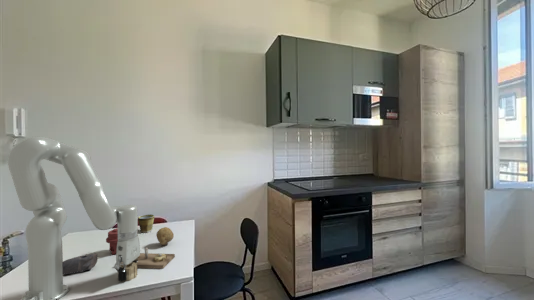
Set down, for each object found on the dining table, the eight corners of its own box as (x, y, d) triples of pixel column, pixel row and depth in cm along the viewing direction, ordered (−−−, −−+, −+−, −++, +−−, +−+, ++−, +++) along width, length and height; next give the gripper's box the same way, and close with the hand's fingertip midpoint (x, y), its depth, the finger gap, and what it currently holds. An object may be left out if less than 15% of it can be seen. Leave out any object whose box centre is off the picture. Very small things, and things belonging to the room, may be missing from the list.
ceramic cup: (157, 230, 164) (157, 215, 164) (143, 234, 155) (143, 219, 155) (146, 227, 170) (146, 213, 170) (132, 231, 162) (132, 216, 162)
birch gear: (130, 281, 101) (130, 269, 101) (115, 281, 101) (115, 269, 101) (140, 273, 107) (140, 262, 107) (125, 272, 108) (125, 261, 108)
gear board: (163, 268, 111) (163, 253, 111) (115, 267, 113) (115, 252, 113) (174, 256, 123) (174, 243, 123) (131, 255, 125) (131, 242, 125)
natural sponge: (171, 240, 145) (171, 224, 145) (175, 245, 138) (175, 228, 138) (155, 243, 141) (155, 226, 140) (157, 249, 133) (157, 231, 133)
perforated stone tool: (53, 278, 103) (53, 262, 103) (58, 273, 108) (58, 257, 108) (95, 271, 110) (95, 256, 110) (98, 266, 114) (98, 251, 114)
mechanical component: (132, 249, 134) (117, 257, 124) (116, 247, 136) (101, 255, 126) (132, 226, 133) (117, 233, 124) (116, 225, 135) (101, 231, 126)
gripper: (122, 242, 95) (123, 287, 95) (147, 228, 113) (147, 266, 113) (104, 242, 96) (105, 287, 96) (132, 227, 113) (132, 265, 113)
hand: (128, 275), depth 104 cm, fingers closed on birch gear, 6 cm apart
